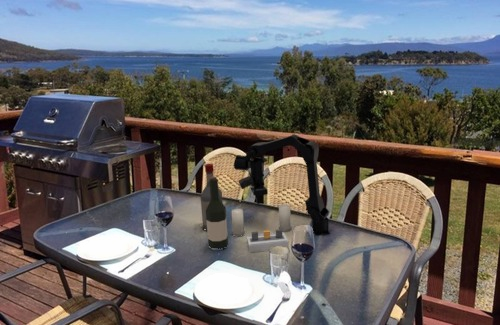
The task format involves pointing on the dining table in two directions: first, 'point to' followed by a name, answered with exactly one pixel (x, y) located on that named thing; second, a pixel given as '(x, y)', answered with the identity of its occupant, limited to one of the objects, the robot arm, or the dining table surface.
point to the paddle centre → (267, 234)
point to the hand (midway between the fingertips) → (258, 203)
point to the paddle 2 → (278, 233)
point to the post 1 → (237, 222)
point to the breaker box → (266, 242)
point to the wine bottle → (216, 218)
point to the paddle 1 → (255, 235)
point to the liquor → (207, 193)
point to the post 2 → (284, 218)
